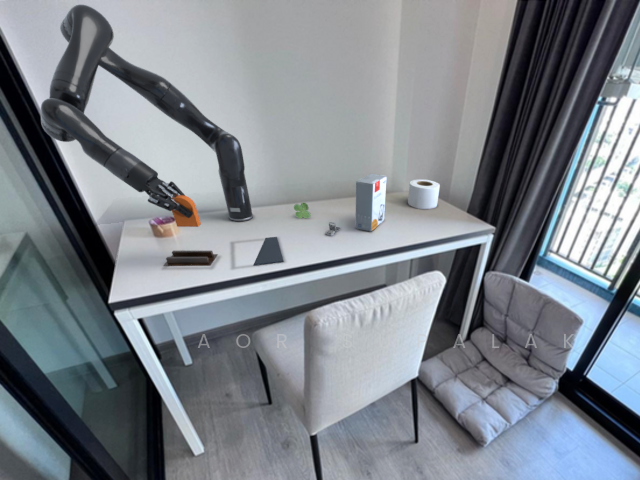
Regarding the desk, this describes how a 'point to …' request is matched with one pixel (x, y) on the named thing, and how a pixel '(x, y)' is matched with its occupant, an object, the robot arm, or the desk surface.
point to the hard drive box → (370, 201)
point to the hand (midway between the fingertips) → (192, 213)
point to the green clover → (302, 210)
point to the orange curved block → (183, 220)
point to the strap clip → (332, 229)
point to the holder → (191, 258)
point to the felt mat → (269, 252)
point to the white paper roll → (423, 194)
